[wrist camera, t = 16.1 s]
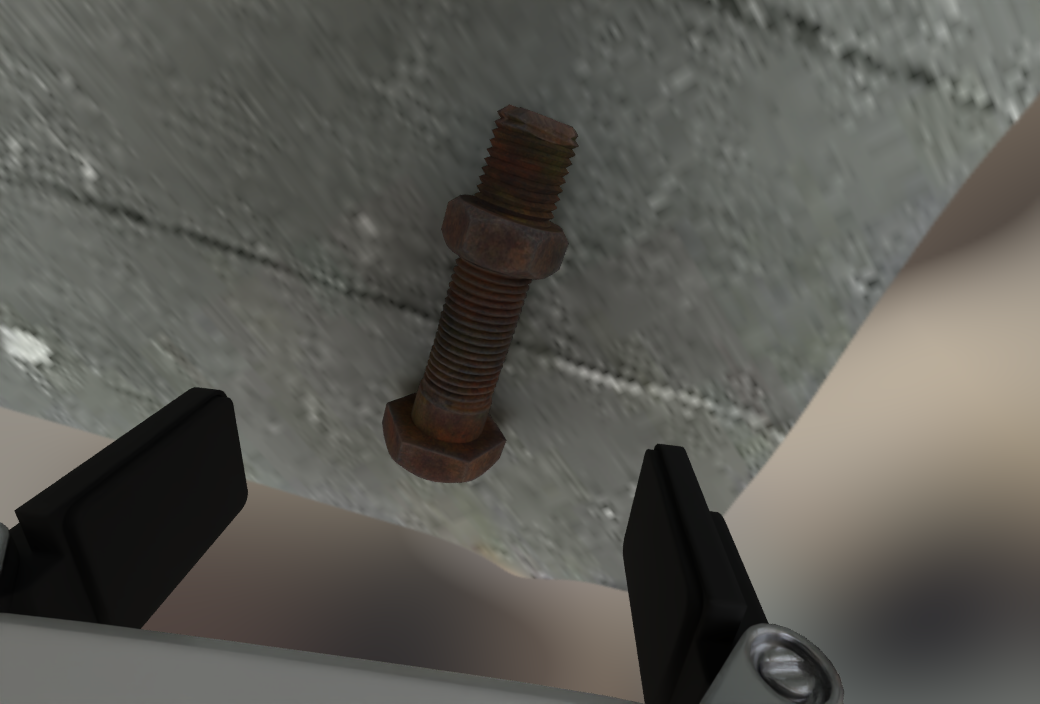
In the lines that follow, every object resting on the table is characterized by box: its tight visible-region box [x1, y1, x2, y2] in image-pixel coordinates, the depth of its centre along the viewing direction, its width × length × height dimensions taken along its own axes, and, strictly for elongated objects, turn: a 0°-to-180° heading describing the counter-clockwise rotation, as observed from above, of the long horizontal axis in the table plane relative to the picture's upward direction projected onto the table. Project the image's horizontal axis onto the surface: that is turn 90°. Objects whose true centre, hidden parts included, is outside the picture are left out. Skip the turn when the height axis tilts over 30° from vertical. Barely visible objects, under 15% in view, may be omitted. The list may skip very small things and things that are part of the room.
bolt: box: [382, 104, 579, 483], centre depth 21 cm, size 6×5×15 cm
